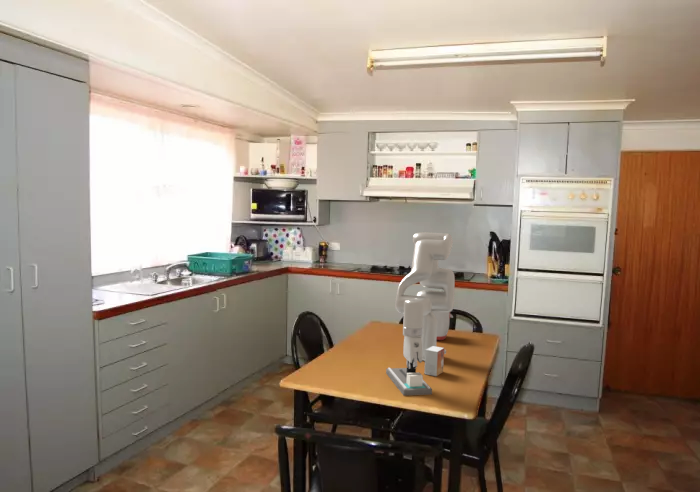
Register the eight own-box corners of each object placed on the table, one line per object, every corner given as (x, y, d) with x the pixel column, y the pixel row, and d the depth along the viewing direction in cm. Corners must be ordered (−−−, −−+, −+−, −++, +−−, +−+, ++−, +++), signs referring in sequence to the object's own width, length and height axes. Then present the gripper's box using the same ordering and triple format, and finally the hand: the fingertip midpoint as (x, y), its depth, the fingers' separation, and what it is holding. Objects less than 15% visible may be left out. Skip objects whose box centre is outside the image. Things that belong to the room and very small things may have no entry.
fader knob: (418, 382, 187) (419, 372, 187) (422, 386, 183) (422, 375, 183) (406, 383, 186) (406, 372, 186) (409, 386, 183) (410, 376, 182)
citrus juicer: (454, 342, 258) (456, 305, 256) (422, 341, 258) (423, 303, 257) (449, 335, 273) (450, 299, 272) (418, 334, 274) (419, 298, 272)
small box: (436, 376, 202) (437, 351, 201) (423, 374, 205) (425, 349, 204) (443, 371, 209) (444, 347, 208) (431, 369, 212) (432, 345, 211)
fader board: (411, 372, 206) (411, 366, 206) (431, 394, 182) (432, 387, 182) (386, 373, 204) (386, 367, 204) (403, 395, 180) (403, 388, 180)
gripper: (428, 336, 181) (426, 384, 182) (416, 326, 196) (414, 371, 197) (409, 336, 180) (407, 385, 181) (397, 327, 194) (396, 372, 196)
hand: (410, 378), depth 189 cm, fingers closed
